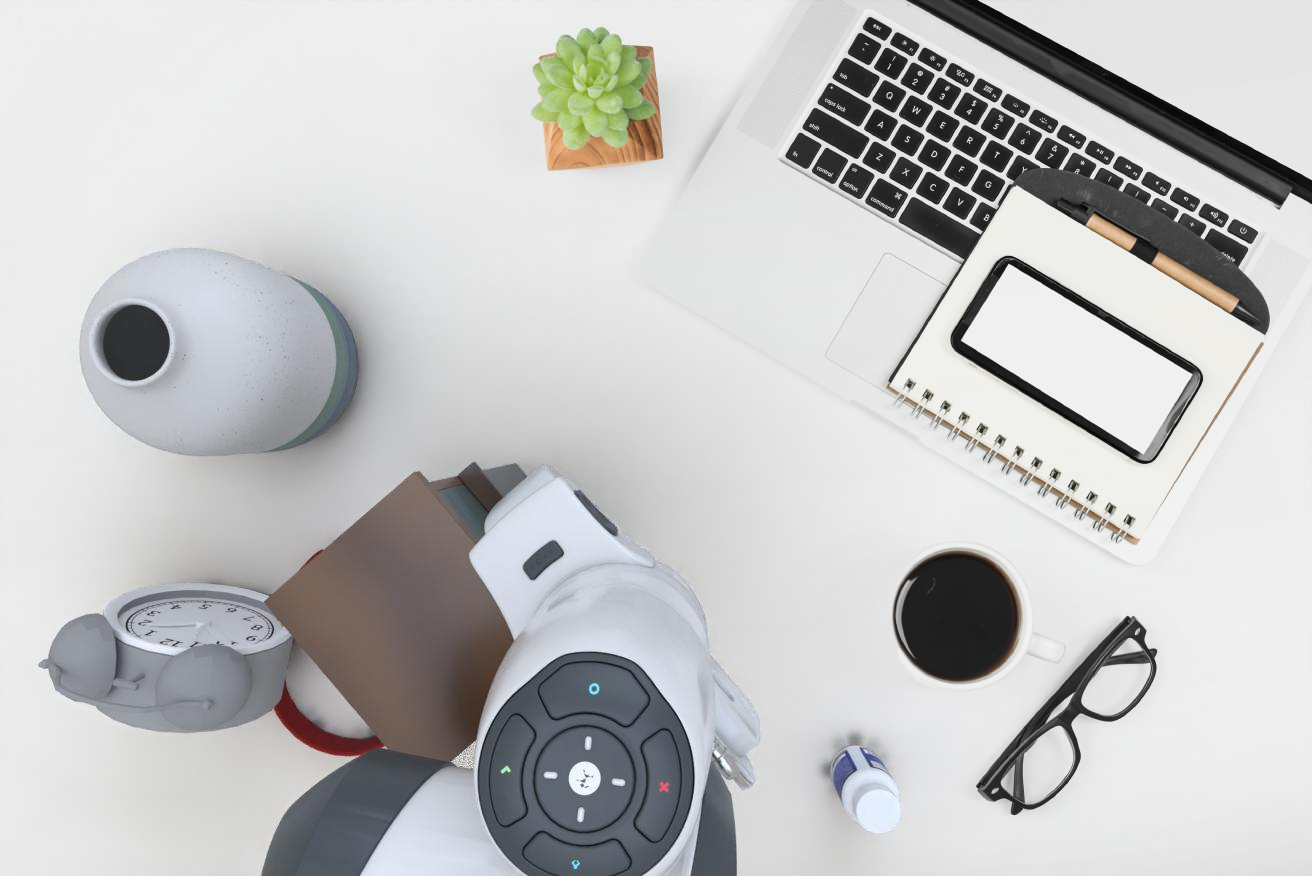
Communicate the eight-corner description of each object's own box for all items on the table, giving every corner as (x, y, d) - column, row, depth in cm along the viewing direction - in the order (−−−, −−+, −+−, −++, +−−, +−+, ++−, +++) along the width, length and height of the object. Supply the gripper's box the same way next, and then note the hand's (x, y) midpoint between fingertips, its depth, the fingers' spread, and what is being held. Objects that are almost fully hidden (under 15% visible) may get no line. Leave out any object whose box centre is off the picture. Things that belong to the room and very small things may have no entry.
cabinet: (530, 634, 82) (420, 788, 47) (440, 527, 83) (262, 602, 48) (619, 559, 82) (573, 658, 47) (527, 452, 82) (414, 471, 47)
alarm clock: (337, 606, 83) (212, 671, 61) (317, 689, 83) (186, 784, 61) (180, 567, 83) (1, 617, 61) (161, 650, 84) (-25, 729, 62)
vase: (375, 283, 82) (249, 224, 58) (372, 452, 83) (246, 463, 59) (208, 280, 83) (15, 221, 59) (206, 449, 83) (13, 458, 59)
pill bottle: (837, 802, 82) (856, 848, 73) (823, 751, 82) (840, 791, 73) (889, 789, 82) (915, 833, 73) (875, 737, 82) (899, 775, 73)
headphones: (299, 535, 82) (285, 720, 86) (262, 556, 75) (248, 756, 79) (445, 557, 82) (425, 742, 85) (421, 580, 75) (401, 781, 78)
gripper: (803, 762, 42) (772, 677, 55) (539, 451, 42) (574, 444, 55) (706, 841, 42) (700, 737, 56) (445, 532, 42) (503, 505, 56)
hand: (636, 589), depth 56 cm, fingers closed
